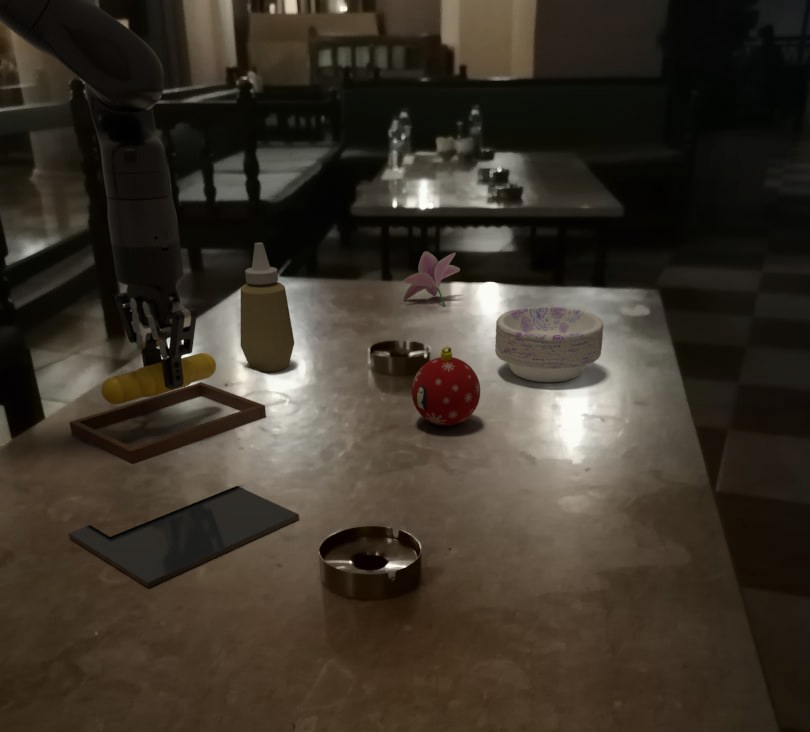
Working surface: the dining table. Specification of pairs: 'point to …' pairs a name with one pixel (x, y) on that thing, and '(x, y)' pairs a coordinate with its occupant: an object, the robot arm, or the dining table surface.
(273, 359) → the squeeze bottle
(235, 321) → the dining table surface
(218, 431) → the tray
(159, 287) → the robot arm
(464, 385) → the christmas ornament
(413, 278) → the lily
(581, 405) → the dining table surface
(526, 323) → the paper bowls
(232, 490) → the board
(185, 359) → the yellow segmented rod
